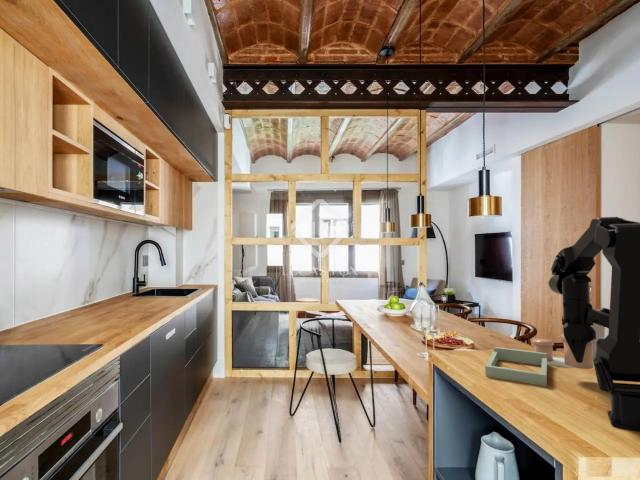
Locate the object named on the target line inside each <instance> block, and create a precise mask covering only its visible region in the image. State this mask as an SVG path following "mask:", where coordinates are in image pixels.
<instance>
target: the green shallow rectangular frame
mask: <svg viewBox="0 0 640 480" xmlns="http://www.w3.org/2000/svg"><path fill="white" fill-rule="evenodd" d="M499 360H500V361H506V362H514V363H522V364H529V365H535V366H540V367H541V368H540V372H536V371H535V372H534V371H528V370H522V369H515V368H510V367H509V368H507V367H502V366H496V365H497V363H498V361H499ZM484 371H485V372H484V373H485V377H490V378H495V379H499V380H500V379H502V380H507V381H513V382H519V383H525V384H532V385H538V386H544V387H547V386H548V385H547V384H548V365H547V353H541V352H534V350H522V349H515V348H509V347H508V348H507V347H501V346H500V347H499V346H498V347H497V346H493V351H492V353H491V355H490V356H489V358H488V360H487V362H486V364H485V367H484Z"/></svg>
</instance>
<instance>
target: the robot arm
mask: <svg viewBox="0 0 640 480" xmlns="http://www.w3.org/2000/svg"><path fill="white" fill-rule="evenodd" d="M601 251H602V255H603V256H604V258H605V259H606V260H607V262H608V263H609V265H610V266H611V275H610V276H611V277H610V278H611V281H610V297H609V308H606V307H602V308H601V309H597V310H596V309H595V308H593V305H592V303H591V299H590V297H591V295H590V283H591V282H592V279H591V277H590V276H588V275H589V274H590V272H591V271H592V270H593V268H594V267H595V266H596V260H595V257H596V256H597V255H598V254H599V253H601ZM550 271H551V275H552V276H551V277H550V279H549V281H548V286H549V288H550V290H551V291H552V292H553V293H555V294H559V295H561V296H562V310H563V311H562V315H563V316H561V325H562V331H563V332H562V334H563V333H564V337H565V339H566V341H567V343H568V345H569V347H570V349H571V351H572V353H573V355H574V357H575V360H576V362H578V363H582V361H583V357H584V353H585V348H586V344H587V343H589V342H590V341H593V340H594V339H596V331H595V329H594V328H593V327H592V326H590V325H593V323H595V324H598V325H601V326H603V327H605V329H608V335H606V336H605V337H604V339H598V341H597V342H596V346H597V350H596V355H595V356H596V357H595V359H594V360H593V368H594V371H595V375H596V376H595V377H596V381H597V384H598V387H599V390H600V391H603V392H606V393H608V394H609V395H610V408H611V410H607V412H606V413H607V415H608V419H609V421H610V425H611V426H613V427H617V428H623V429H628V430H633V431H637V432H640V384H639V383H640V222H639V221H632V220H627V219H625V218H622V217H618V216H608V217H607V216H604V217H600V216H599V217H595V218H593V219H591V221H590V223H589V226H588V228H587V229H586V230H585V231H584V233H583V234H582V235H581V236H580V238H579V239H577V241H576V242H575V243H574V244H573V245H571V246H566V247H564V248H562V249H561V250H560V251H559V252H558V253H557V255H556V256H555V259H554V260H553V263H552V266H551V268H550ZM615 381H616V382H615ZM623 382H624V383H623ZM626 382H629V383H626ZM630 382H632V383H630Z"/></svg>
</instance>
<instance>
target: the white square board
mask: <svg viewBox="0 0 640 480" xmlns="http://www.w3.org/2000/svg"><path fill="white" fill-rule="evenodd" d="M547 366H553V367H561V368H569V369H573V367H571V366H568V365H566V364H565V360H564V356H557V355H553V361H547Z"/></svg>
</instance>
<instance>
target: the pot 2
mask: <svg viewBox="0 0 640 480" xmlns="http://www.w3.org/2000/svg"><path fill="white" fill-rule="evenodd" d="M560 338H561V340H563V355H564V356H563V357H564V360H565V364H566V365H568V366H571V367H572V368H575V369H582V370H591V369H593V368H594V360H593V345H592V343H595V339H594V340H593V341H590V342H589V343H587V344H586V348H585V353H584V357H583V361H582V363H578V362H576V360H575V357H574V355H573V353H572V351H571V349H570V347H569V345H568V343H567V341H566V339H565V337H564V333H563V332H562V333H561V337H560Z"/></svg>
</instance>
